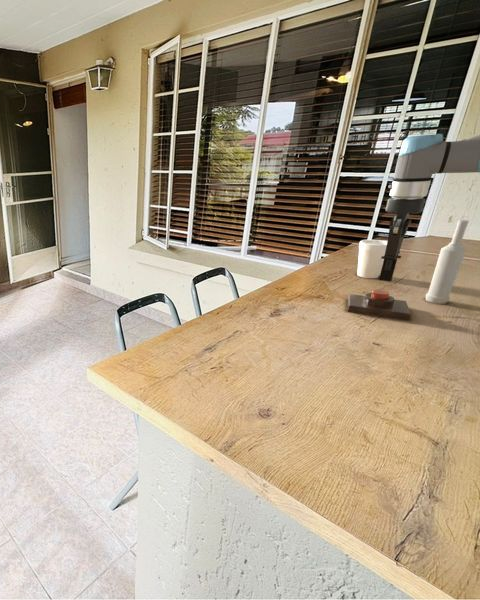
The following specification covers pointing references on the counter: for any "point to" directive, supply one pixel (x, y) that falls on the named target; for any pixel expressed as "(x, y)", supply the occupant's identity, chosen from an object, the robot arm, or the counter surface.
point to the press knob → (380, 294)
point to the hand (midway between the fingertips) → (385, 280)
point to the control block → (378, 306)
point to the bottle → (447, 267)
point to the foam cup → (371, 258)
